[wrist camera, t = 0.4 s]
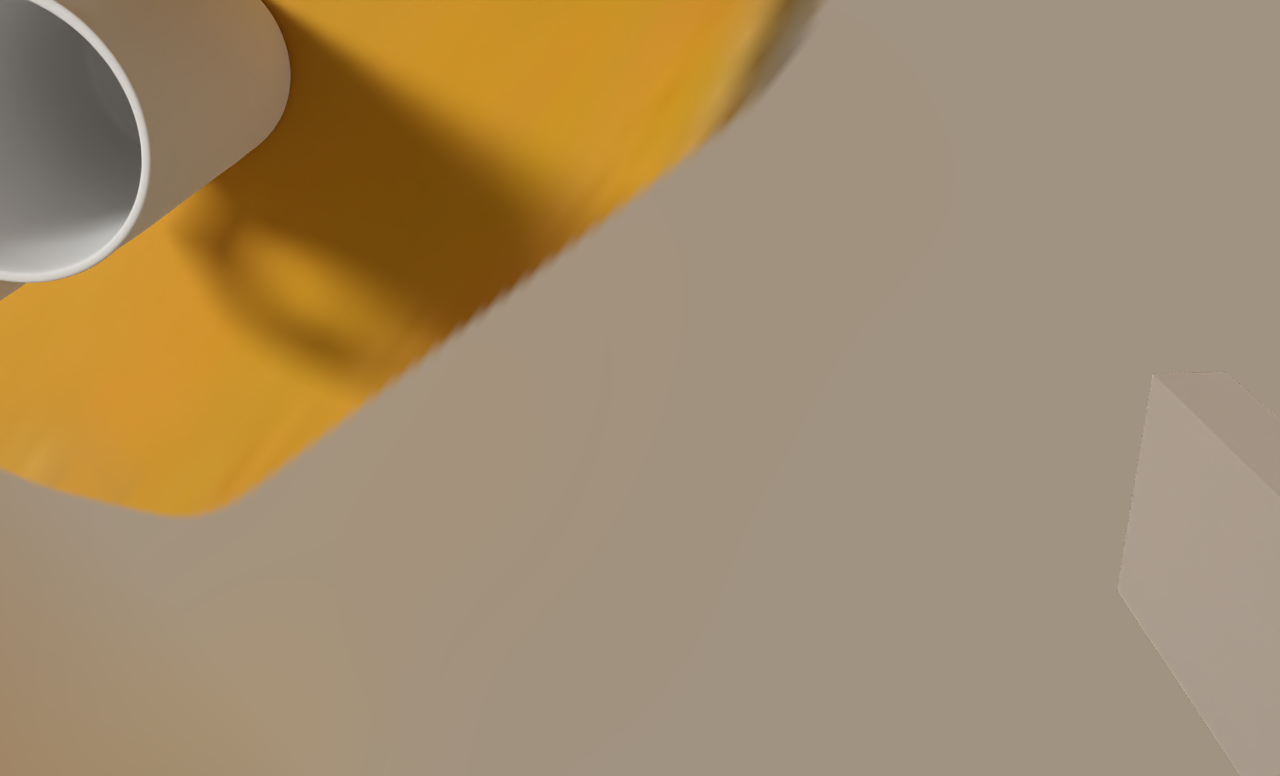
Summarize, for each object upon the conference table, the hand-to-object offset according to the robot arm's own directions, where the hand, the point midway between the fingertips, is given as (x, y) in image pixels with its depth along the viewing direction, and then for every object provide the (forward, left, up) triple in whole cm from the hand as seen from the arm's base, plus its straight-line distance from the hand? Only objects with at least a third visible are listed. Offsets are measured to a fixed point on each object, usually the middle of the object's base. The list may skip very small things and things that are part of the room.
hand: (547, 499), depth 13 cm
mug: (-5, -13, -26) cm, 30 cm away
